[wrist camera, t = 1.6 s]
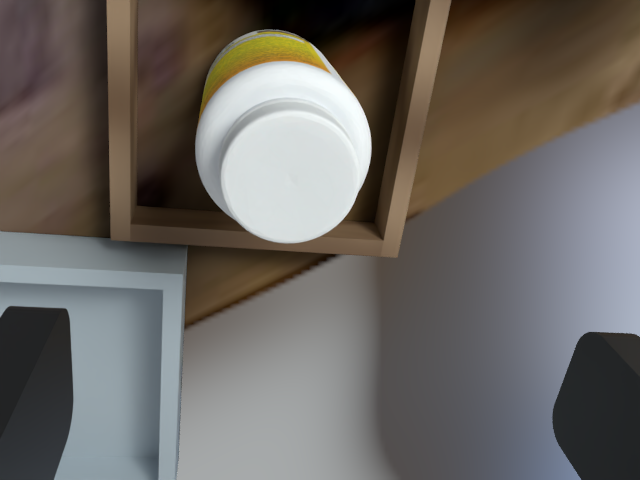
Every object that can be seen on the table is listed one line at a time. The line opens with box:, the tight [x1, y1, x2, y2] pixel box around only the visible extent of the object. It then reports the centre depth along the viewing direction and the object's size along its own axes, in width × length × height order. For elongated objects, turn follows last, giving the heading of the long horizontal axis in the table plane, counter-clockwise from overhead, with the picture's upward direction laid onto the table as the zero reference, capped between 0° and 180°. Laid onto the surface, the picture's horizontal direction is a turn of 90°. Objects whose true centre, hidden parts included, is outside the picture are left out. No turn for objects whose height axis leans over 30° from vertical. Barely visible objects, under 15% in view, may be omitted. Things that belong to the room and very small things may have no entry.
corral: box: [107, 0, 451, 258], centre depth 25 cm, size 13×13×2 cm
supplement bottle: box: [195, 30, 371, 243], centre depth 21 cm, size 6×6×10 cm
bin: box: [0, 231, 188, 480], centre depth 29 cm, size 14×14×3 cm
